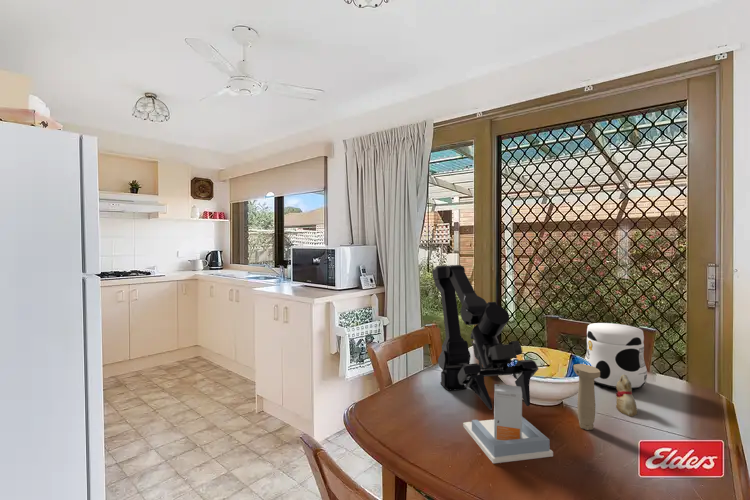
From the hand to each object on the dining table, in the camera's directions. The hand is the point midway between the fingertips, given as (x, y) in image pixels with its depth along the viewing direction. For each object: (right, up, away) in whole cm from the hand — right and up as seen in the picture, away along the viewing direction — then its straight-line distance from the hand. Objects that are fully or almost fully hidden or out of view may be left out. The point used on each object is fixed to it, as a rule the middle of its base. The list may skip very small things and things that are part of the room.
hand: (510, 407), depth 86 cm
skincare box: (0, -8, +1) cm, 8 cm away
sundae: (+7, -7, +50) cm, 51 cm away
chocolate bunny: (+38, -8, +17) cm, 43 cm away
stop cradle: (0, -9, +3) cm, 9 cm away
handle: (+22, -9, +8) cm, 25 cm away
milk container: (+47, -7, +36) cm, 60 cm away
